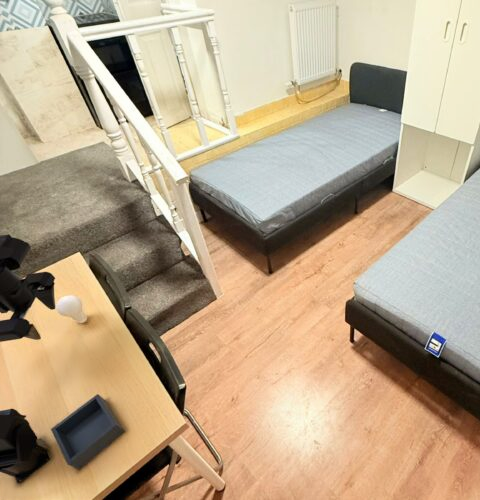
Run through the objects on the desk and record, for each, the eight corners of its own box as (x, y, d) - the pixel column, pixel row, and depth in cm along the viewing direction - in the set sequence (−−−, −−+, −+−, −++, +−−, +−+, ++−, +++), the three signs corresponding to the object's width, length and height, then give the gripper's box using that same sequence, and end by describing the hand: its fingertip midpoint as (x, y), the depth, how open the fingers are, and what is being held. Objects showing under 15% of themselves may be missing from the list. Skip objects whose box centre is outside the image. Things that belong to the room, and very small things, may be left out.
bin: (79, 470, 74) (67, 464, 71) (62, 435, 79) (50, 429, 76) (125, 431, 79) (116, 424, 76) (106, 401, 85) (97, 393, 81)
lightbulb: (98, 318, 103) (79, 296, 95) (79, 333, 99) (57, 312, 92) (88, 309, 105) (68, 287, 98) (69, 323, 102) (47, 302, 94)
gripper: (-13, 261, 81) (29, 299, 92) (-61, 326, 68) (-6, 362, 79) (36, 254, 82) (71, 293, 93) (-3, 317, 69) (43, 354, 80)
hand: (46, 323), depth 87 cm, fingers open, 9 cm apart
